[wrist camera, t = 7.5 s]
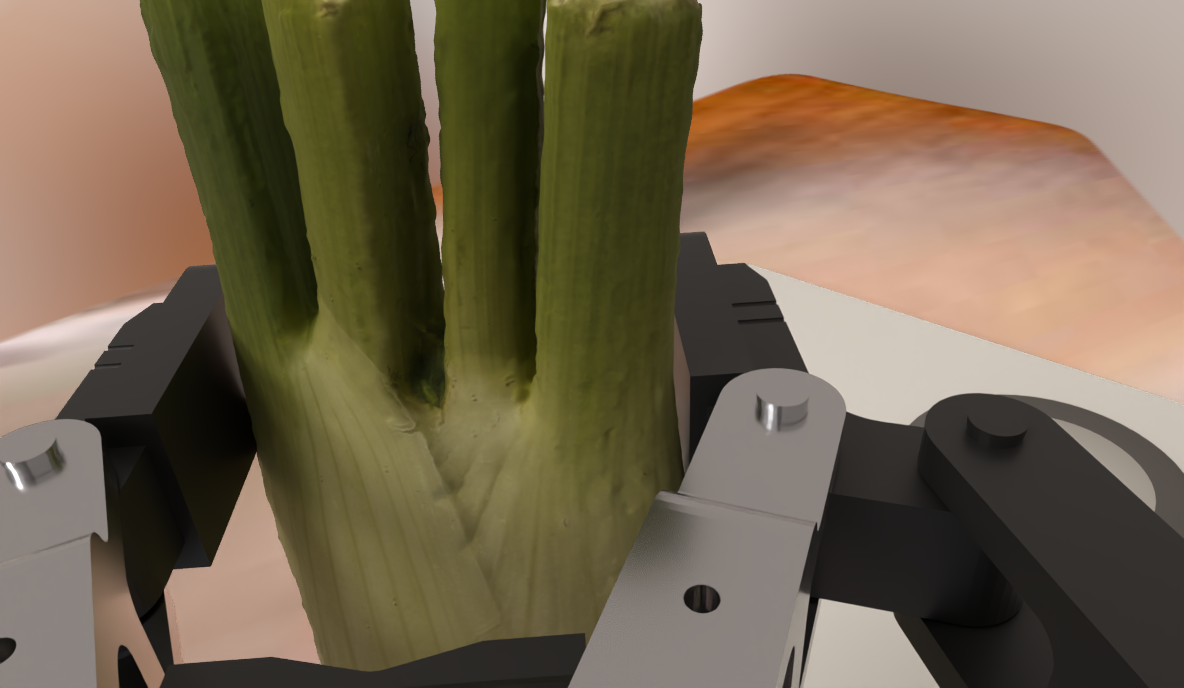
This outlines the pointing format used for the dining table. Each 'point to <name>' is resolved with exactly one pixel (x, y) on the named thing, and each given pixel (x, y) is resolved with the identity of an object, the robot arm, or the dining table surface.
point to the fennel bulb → (445, 296)
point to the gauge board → (904, 396)
